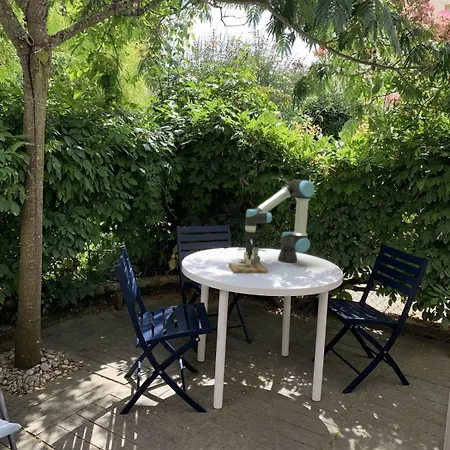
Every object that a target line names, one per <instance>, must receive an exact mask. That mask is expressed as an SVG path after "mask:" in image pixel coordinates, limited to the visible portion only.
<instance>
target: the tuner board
mask: <svg viewBox="0 0 450 450" xmlns="http://www.w3.org/2000/svg"><path fill="white" fill-rule="evenodd" d="M235 264H247V263H244V262H241V263H240V262H239V263H237V262H235V263H233V262H232V263H231V262H229V263H228V267H229V268H230V270H231V271H232V272H233V274H268V269H267V268H265V266H264V265H263V264H262V263H261V262H260V263H251V264H250V266H246V265H235Z"/></svg>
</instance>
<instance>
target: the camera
mask: <svg viewBox="0 0 450 450" xmlns="http://www.w3.org/2000/svg"><path fill="white" fill-rule="evenodd" d="M253 252H254V259H251V263H261V256H259V247H256V246H253ZM238 260H239V261H241V263H246V259H244V258H243V259H242V258H239V259H238Z"/></svg>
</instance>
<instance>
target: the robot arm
mask: <svg viewBox="0 0 450 450" xmlns="http://www.w3.org/2000/svg"><path fill="white" fill-rule="evenodd" d="M314 193H315V186H314V184H313V183H312V181H310V180H303V179H293V180H291V181H289V182H287V183H286V184H284V185H283V186H281V189H279V190H278V191H277V192H276V193H274V194H273V195H271V196H270V197H269V198H268V199H266V200H265V201H264V202H262V203H260V204H259V205H258V206H257V207H255V208H252V209H251V208H249V209H247V210H246V212H245V213H246V214H245V226H244V230H245V231H244V236H245V237H247V238H245V241H246V242H245V252H248V254H247V259H246V263H247V264H251V255H252V253H253V247H254V244H255V242H254V238H255V237H256V230H257V224H261V223H262V224H265V223H266V224H267V223H271V222H272V220H273V216H272V213H271V212H270V211H271V210H272V209H273V208H274V207H276V206H277V205H278V204H280V203H281V202H283V201H284V200H286V199H287V198H291V197H292V196H294V199H295V200H296V205H295V208H296V209H295V217H294V219H295V220H294V230H293V231H284V232H282V233H281V234H282V235H281V242H280V243H281V245H280V252H279V255H278V256H277V260H278V261H279V262H282V263H288V264H290V263H298V256H297V252H298V253H305V252H307V251H308V250H309V248H310V247H311V241H310V239H308V235H309V234H308V233H307V225H308V209H309V201H310V200H312V199H311V197H312V196H313V195H314Z"/></svg>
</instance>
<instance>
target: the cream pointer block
mask: <svg viewBox="0 0 450 450" xmlns="http://www.w3.org/2000/svg"><path fill="white" fill-rule="evenodd" d="M247 254H248V252H246V251H244V252H243V260H244V259H247ZM251 259H254V252H253V253H252V255H251ZM235 265H246V266H250V264H235Z"/></svg>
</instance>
